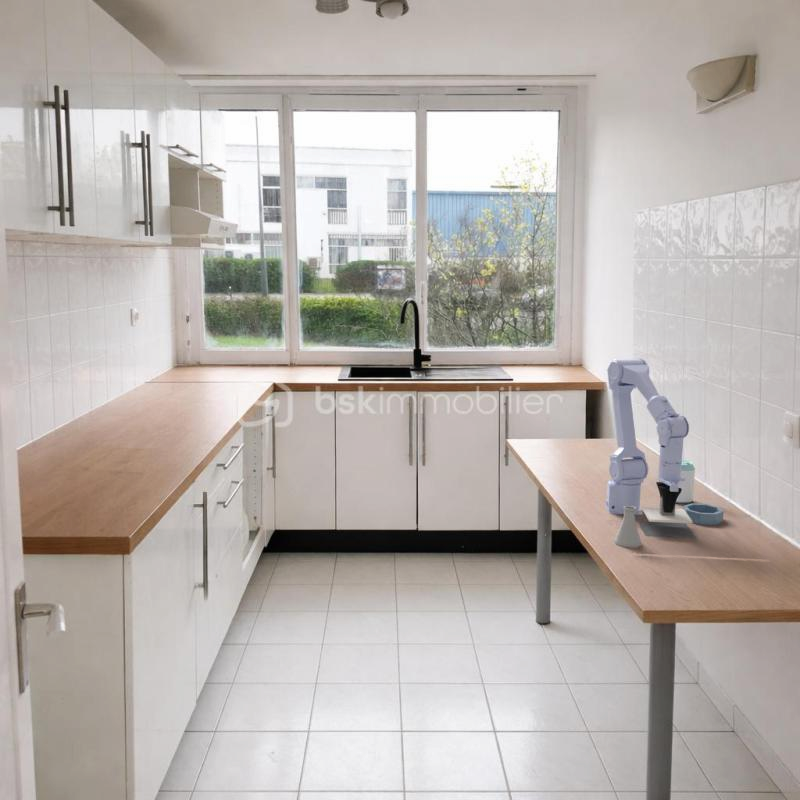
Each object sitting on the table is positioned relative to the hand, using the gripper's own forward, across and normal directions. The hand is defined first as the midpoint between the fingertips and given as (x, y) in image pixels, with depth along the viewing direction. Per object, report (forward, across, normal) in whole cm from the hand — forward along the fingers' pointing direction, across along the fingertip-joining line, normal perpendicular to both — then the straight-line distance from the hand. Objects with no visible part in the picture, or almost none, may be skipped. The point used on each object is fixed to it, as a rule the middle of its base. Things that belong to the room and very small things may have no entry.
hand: (667, 510), depth 240 cm
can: (+6, +31, -10) cm, 33 cm away
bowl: (+6, +11, -12) cm, 17 cm away
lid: (+2, 0, 0) cm, 2 cm away
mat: (+6, 0, 0) cm, 6 cm away
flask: (+6, -13, +12) cm, 19 cm away
